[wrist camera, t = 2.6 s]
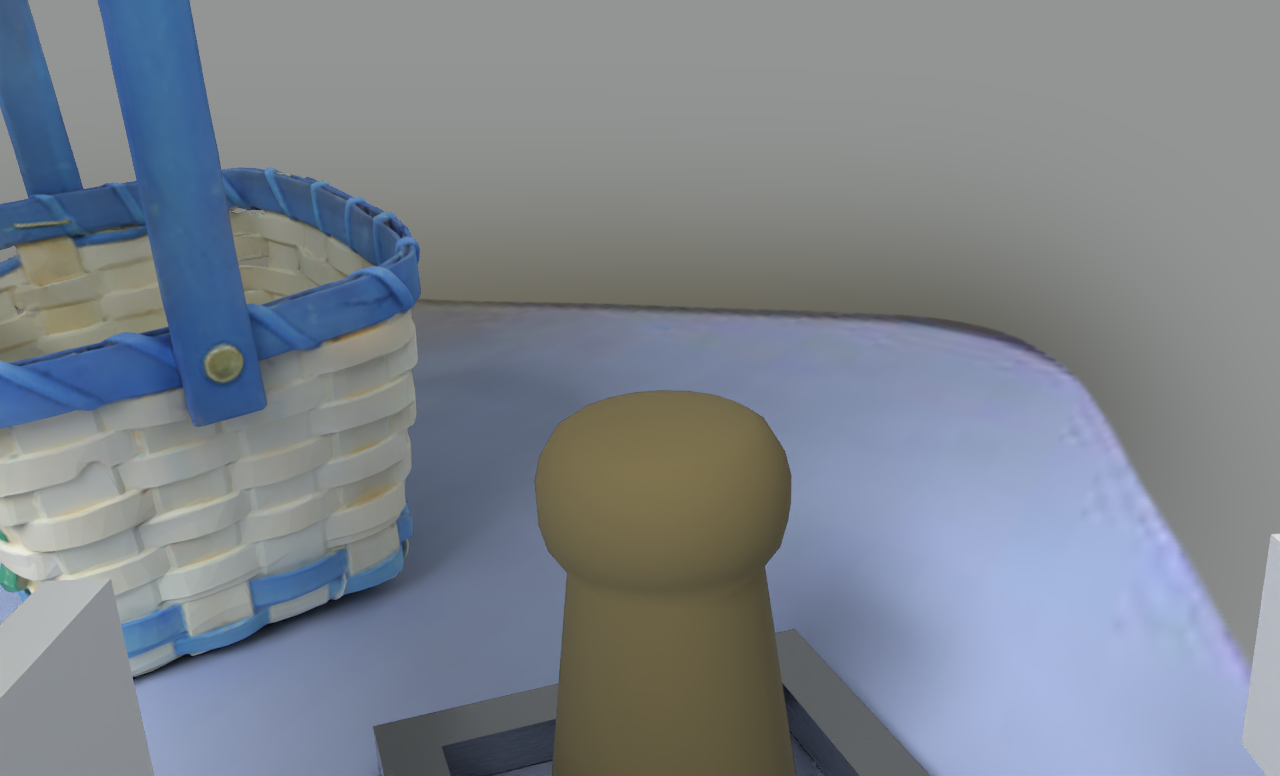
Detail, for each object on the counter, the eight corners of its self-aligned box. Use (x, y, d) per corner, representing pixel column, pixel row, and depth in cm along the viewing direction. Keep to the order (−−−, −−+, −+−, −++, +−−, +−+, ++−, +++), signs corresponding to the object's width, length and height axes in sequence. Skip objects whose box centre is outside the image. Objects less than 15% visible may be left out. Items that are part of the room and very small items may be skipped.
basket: (-104, 541, 44) (-295, -131, 36) (312, 437, 53) (231, -126, 45) (-56, 850, 28) (-383, -247, 20) (536, 629, 36) (469, -205, 29)
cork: (709, 1011, 23) (695, 500, 19) (489, 879, 26) (442, 427, 23) (856, 835, 27) (869, 392, 23) (651, 743, 31) (634, 346, 27)
